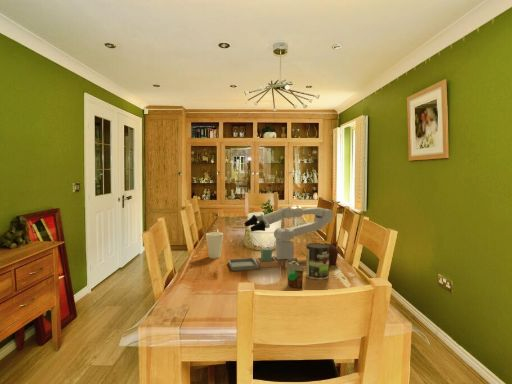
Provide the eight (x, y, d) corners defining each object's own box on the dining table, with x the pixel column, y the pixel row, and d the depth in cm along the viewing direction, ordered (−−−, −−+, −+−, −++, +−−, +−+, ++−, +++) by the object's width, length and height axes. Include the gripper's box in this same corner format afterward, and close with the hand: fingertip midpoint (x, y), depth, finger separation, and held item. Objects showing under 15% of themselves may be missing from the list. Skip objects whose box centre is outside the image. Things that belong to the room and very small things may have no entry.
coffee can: (333, 277, 150) (334, 246, 149) (315, 281, 145) (315, 249, 144) (319, 271, 159) (319, 242, 158) (301, 274, 154) (301, 244, 154)
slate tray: (252, 261, 176) (252, 257, 176) (258, 269, 163) (258, 265, 163) (228, 263, 173) (228, 259, 173) (232, 271, 160) (232, 266, 160)
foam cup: (220, 259, 180) (219, 235, 179) (203, 258, 182) (203, 235, 181) (225, 255, 190) (225, 232, 189) (209, 254, 191) (209, 231, 191)
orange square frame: (272, 261, 176) (272, 256, 176) (277, 266, 167) (277, 261, 167) (255, 262, 174) (255, 257, 174) (259, 267, 165) (259, 262, 165)
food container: (282, 280, 146) (282, 258, 145) (296, 280, 147) (296, 257, 146) (287, 290, 134) (288, 266, 133) (303, 290, 134) (303, 265, 134)
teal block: (269, 263, 173) (269, 247, 173) (271, 265, 169) (271, 249, 168) (261, 263, 172) (260, 248, 172) (263, 266, 168) (263, 250, 168)
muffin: (319, 259, 180) (319, 241, 180) (340, 261, 176) (340, 242, 175) (313, 265, 170) (313, 245, 169) (335, 267, 165) (335, 247, 164)
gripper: (263, 207, 185) (241, 215, 180) (275, 215, 172) (252, 224, 168) (265, 219, 187) (243, 227, 183) (278, 227, 175) (254, 237, 170)
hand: (247, 227), depth 175 cm, fingers open, 7 cm apart
